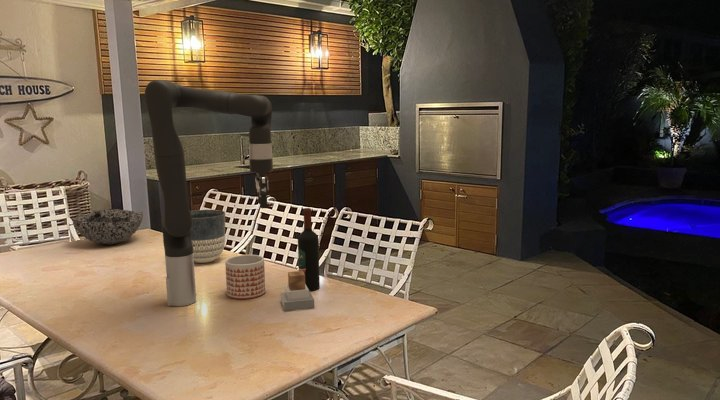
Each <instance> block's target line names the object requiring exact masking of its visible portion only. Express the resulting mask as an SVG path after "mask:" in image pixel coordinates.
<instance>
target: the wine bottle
mask: <svg viewBox="0 0 720 400" xmlns="http://www.w3.org/2000/svg"><path fill="white" fill-rule="evenodd" d="M319 242H320V241H319V236H318V233H316V232H315V231H313V229H312V208H310V207H306V208H303V230H302V231H301V233H299V235H298V236H297V254H298V255H297V259H298V271H303V272H304V274H305V284H306V286H307V288H308V289H309V291H310V292H315V291H317V290H319V289H320V255H319V254H320V252H319V251H320V250H319V249H320V248H319V245H320V243H319Z"/></svg>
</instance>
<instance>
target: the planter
mask: <svg viewBox="0 0 720 400" xmlns="http://www.w3.org/2000/svg"><path fill="white" fill-rule="evenodd" d="M190 213H191V217H192V227H191V239H192V244H193V256H194V263H198V264H207V263H211V262H213V261H216V260H217V259H218V258H219V257H220V256H221V254H222V253H223V251H224V248H225V245H226V212H225V211H224V210H220V209H197V210H190Z"/></svg>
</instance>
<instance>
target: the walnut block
mask: <svg viewBox="0 0 720 400" xmlns="http://www.w3.org/2000/svg"><path fill="white" fill-rule="evenodd" d="M287 280H288V284H287V285H289V288H290V291H293V290H304V289H305V274H304V272H303V271H299V270H297V271H288V272H287Z"/></svg>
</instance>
